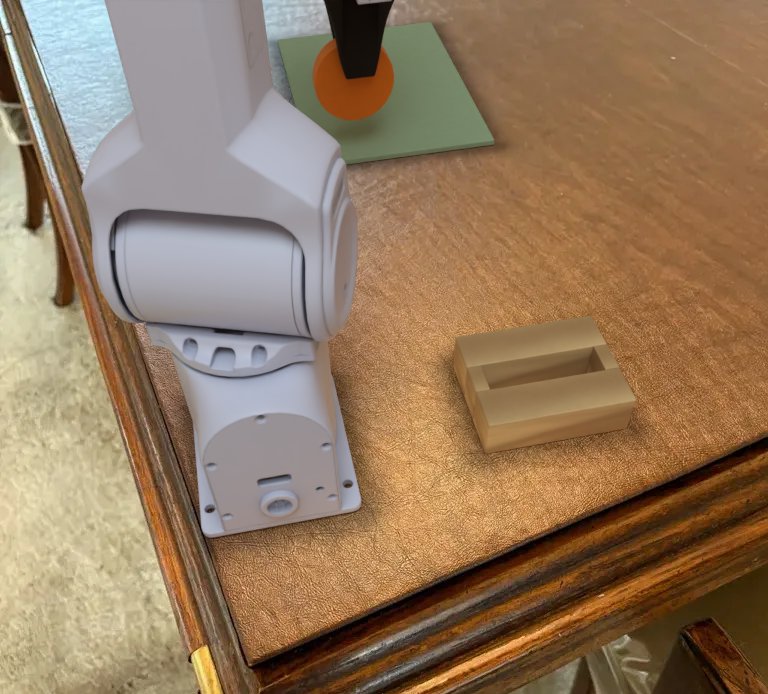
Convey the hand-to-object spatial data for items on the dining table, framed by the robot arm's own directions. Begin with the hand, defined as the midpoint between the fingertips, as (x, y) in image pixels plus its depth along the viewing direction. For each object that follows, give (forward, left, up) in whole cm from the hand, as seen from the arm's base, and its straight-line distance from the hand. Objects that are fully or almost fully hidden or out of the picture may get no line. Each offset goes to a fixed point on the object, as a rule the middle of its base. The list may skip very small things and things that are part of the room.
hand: (357, 69), depth 55 cm
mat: (+8, -3, -6) cm, 11 cm away
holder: (-27, -5, -6) cm, 28 cm away
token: (0, 0, -1) cm, 1 cm away
